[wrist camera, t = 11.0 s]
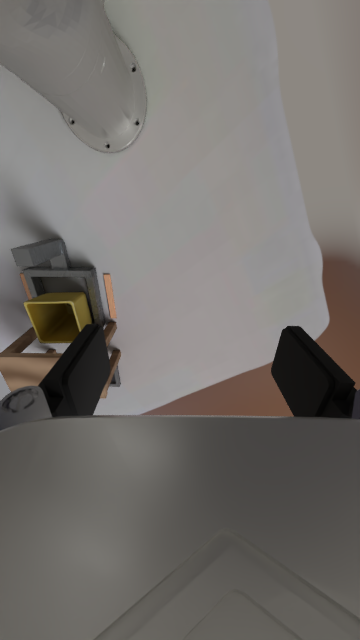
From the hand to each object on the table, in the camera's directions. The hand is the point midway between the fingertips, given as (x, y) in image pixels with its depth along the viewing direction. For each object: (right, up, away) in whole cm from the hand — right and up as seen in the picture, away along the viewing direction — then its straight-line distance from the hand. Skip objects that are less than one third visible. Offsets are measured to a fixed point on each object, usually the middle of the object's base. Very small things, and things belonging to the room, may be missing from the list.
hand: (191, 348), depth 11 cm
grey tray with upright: (-24, +9, +33) cm, 42 cm away
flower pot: (-23, +5, +35) cm, 43 cm away
